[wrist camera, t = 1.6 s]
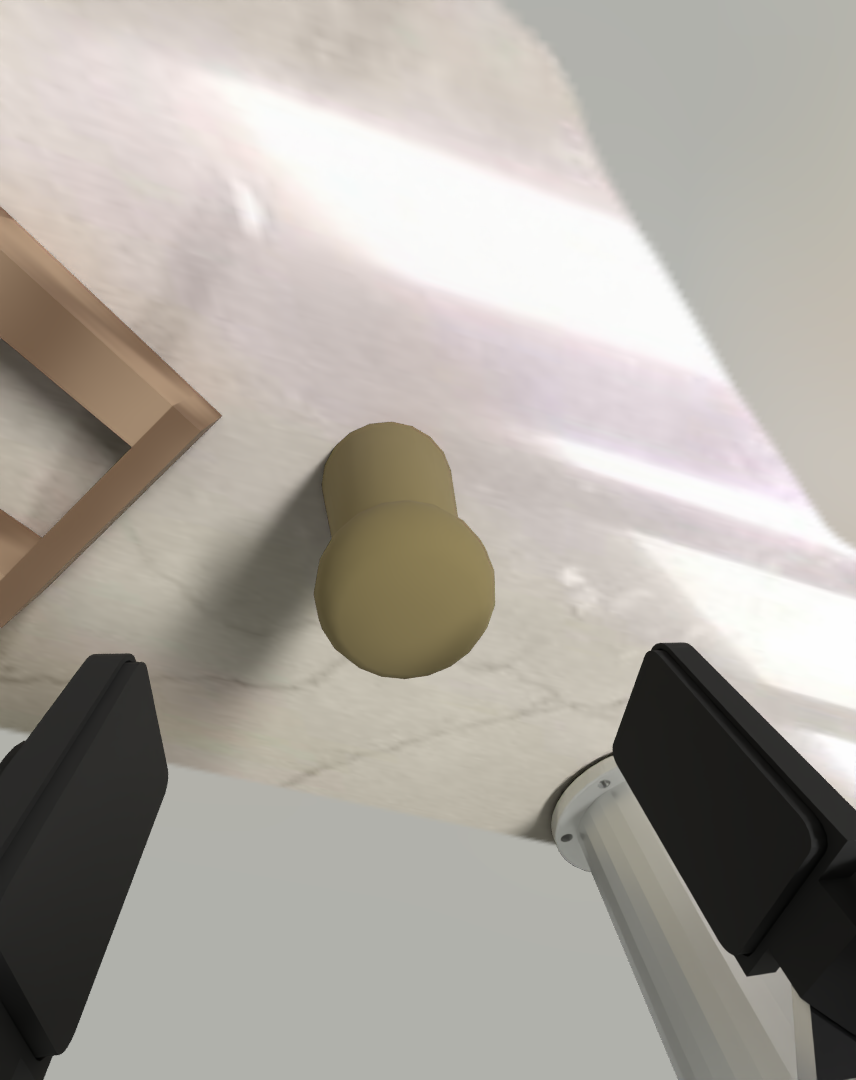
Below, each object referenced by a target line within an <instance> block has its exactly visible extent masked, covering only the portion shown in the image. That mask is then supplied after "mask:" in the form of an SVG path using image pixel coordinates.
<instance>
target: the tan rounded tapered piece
mask: <svg viewBox="0 0 856 1080" xmlns="http://www.w3.org/2000/svg"><path fill="white" fill-rule="evenodd" d="M322 490H323V496H324V501H325V507H326V512H327V517H328V522H329V527H330V532H331V537H332V539H331V541H330V542H329V544H328V546H327V548H326V549H325V551H324V553H323V555H322V556H321V558H320V561H319V566H318V572H317V578H316V584H315V589H314V598H315V603H316V608H317V613H318V618H319V621H320V624H321V627H322V630H323V631H324V633H325V634H326V636H327V637H328V639H329V641H330V642H331V644H332V645H333V647H334V648H335V649H336V650H337V651H338V652H340V653H341V654H342V655H343V656H345V657H346V658H347V659H348V660H350V661H351V662H352V663H354V664H355V665H356V666H358V667H359V668H361V669H363V670H366V671H368V672H371V673H374V674H376V675H379V676H381V677H391V678H401V679H408V678H415V677H422V676H428V675H431V674H433V673H436V672H438V671H441V670H443V669H446V668H448V667H450V666H452V665H453V664H454V663H456V662H457V661H458V660H460V659H461V658H462V657H464V656H465V655H466V654H468V653H469V652H470V651H471V649H472V648H473V647H474V645H475V644H476V643H477V641H478V640H479V639H480V637H481V636H482V635H483V633H484V632H485V630H486V628H487V626H488V624H489V621H490V618H491V615H492V612H493V609H494V606H495V578H494V569H493V567H492V564H491V562H490V559H489V557H488V554H487V551H486V549H485V547H484V545H483V544H482V542H481V540H480V539H479V538H478V536H477V535H476V534H475V533H474V532H473V531H472V530H471V529H470V528H469V527H468V525H467V524H466V523H465V522H464V521H463V520H461V519H459V518H458V515H457V508H456V502H455V495H454V489H453V482H452V475H451V470H450V467H449V465H448V462H447V460H446V457H445V455H444V452H443V451H442V450H441V449H440V448H439V447H438V445H437V444H436V443H435V442H434V441H433V440H432V438H431V437H429V436H428V435H426V434H424V433H423V432H421V431H419V430H418V429H416V428H414V427H413V426H408V425H404V424H399V423H395V422H384V423H374V424H369V425H366V426H364V427H362V428H360V429H357V430H355V431H353V432H351V433H349V434H348V435H347V436H346V437H345V438H344V439H343V440H342V441H341V442H340V443H338V444H337V445H336V446H335V447H334V449H333V451H332V453H331V455H330V456H329V458H328V460H327V462H326V464H325V467H324V473H323V479H322Z"/></svg>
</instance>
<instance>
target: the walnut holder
mask: <svg viewBox="0 0 856 1080" xmlns="http://www.w3.org/2000/svg"><path fill="white" fill-rule="evenodd" d="M0 338H2V339H3V340H4V341H5V342H6V343H8V344H9V345H10V346H11V347H12V348H14V349H15V350H16V351H17V352H18V353H20V354H21V355H22V356H23V357H24V358H26V359H27V360H28V361H29V362H30V363H32V364H33V365H34V366H35V367H36V368H38V369H39V370H40V371H41V372H42V373H44V374H45V375H46V376H47V377H48V378H50V379H51V380H52V381H53V382H54V383H56V384H57V385H58V386H59V387H60V388H62V389H63V390H64V391H65V392H66V393H68V394H69V395H70V396H71V397H72V398H74V399H75V400H76V401H77V402H78V403H80V404H81V405H82V406H83V407H84V408H86V409H87V410H88V411H89V412H90V413H92V414H93V415H94V416H95V417H96V418H98V419H99V420H100V421H101V422H102V423H104V424H105V425H106V426H107V427H108V428H110V429H111V430H112V431H113V432H114V433H116V434H117V435H118V436H119V437H120V438H122V439H123V440H124V441H125V442H126V443H128V444H129V445H130V446H131V447H132V448H131V449H130V450H129V451H128V452H127V453H126V454H125V455H124V456H123V457H122V458H121V459H120V460H119V461H118V462H117V463H116V464H115V465H114V466H113V467H112V468H111V469H110V470H109V471H108V472H107V473H106V474H105V475H104V476H103V477H102V478H101V479H100V480H99V481H98V482H97V483H96V484H95V485H94V486H93V487H92V488H91V489H90V490H89V491H88V492H87V493H86V494H85V495H84V496H83V497H82V498H81V499H80V500H79V501H78V502H77V503H76V504H75V505H74V506H73V507H72V508H71V509H70V510H69V511H68V512H67V514H66V515H65V516H64V517H63V518H62V519H61V520H60V521H59V522H58V523H57V524H56V525H55V526H54V527H53V528H52V529H51V530H50V531H49V532H48V533H47V534H46V535H45V536H44V537H43V538H41V537H40V536H39V535H37V534H36V533H34V532H33V531H31V530H30V529H28V528H27V527H25V526H24V525H23V524H21V523H20V522H18V521H17V520H15V519H14V518H12V517H11V516H10V515H8V514H7V513H5V512H4V511H2V510H1V509H0V627H1V628H2V627H3V626H4V625H5V624H6V623H8V622H9V621H10V620H11V619H12V618H13V617H14V616H16V615H17V614H18V613H19V612H20V611H21V610H22V609H23V608H25V607H26V606H27V605H28V604H29V603H30V602H31V601H33V600H34V599H35V598H36V597H37V596H38V595H39V594H41V593H42V592H43V591H44V590H45V589H46V588H47V587H48V586H49V585H50V584H51V583H52V582H53V581H54V580H55V579H56V578H57V577H58V576H59V575H60V574H61V573H62V572H63V571H64V570H66V569H67V568H68V567H69V566H70V565H71V564H72V563H73V562H74V561H75V560H76V559H77V558H78V557H79V556H80V555H81V554H82V553H83V552H84V551H85V550H86V549H87V548H88V547H89V546H90V545H91V544H92V543H93V542H94V541H95V540H96V539H97V538H98V537H99V536H100V535H101V534H102V533H103V532H104V531H105V530H106V529H107V528H108V527H109V526H110V525H111V524H112V523H113V522H114V521H115V520H116V519H117V518H118V517H119V516H121V515H122V514H123V513H124V512H125V511H126V510H127V509H128V508H129V507H130V506H131V505H132V504H133V503H134V502H135V501H136V500H137V499H138V498H139V497H140V496H141V495H142V494H143V493H144V492H145V491H146V490H147V489H148V488H149V487H150V486H151V485H152V484H153V483H154V482H155V481H156V480H157V479H158V478H159V477H160V476H161V475H162V474H163V473H164V472H165V471H166V470H167V469H168V468H169V467H170V466H171V465H172V464H173V463H174V462H176V461H177V460H178V459H179V458H180V457H181V456H182V455H183V454H184V453H185V452H186V451H187V450H188V449H189V448H190V447H191V446H192V445H193V444H194V443H195V442H196V441H197V440H198V439H199V438H200V437H201V436H202V435H203V434H204V433H205V432H206V431H207V430H208V429H209V428H210V427H211V426H212V425H213V424H214V423H215V422H216V421H217V420H218V419H219V418H220V417H221V416H222V415H221V414H220V413H219V412H218V411H216V410H215V409H214V408H213V407H212V406H211V405H210V404H209V403H208V402H207V401H206V400H205V399H204V398H203V397H202V396H201V395H200V394H198V393H197V392H196V391H195V390H194V389H193V388H192V387H191V386H190V385H189V384H188V383H187V382H186V381H185V380H184V379H183V378H182V377H180V376H179V375H178V374H177V373H176V372H175V371H174V370H173V369H172V368H171V367H170V366H169V365H168V364H167V363H166V362H165V361H164V360H162V359H161V358H160V357H159V356H158V355H157V354H156V353H155V352H154V351H153V350H152V349H151V348H150V347H149V346H148V345H147V344H146V343H144V342H143V341H142V340H141V339H140V338H139V337H138V336H137V335H136V334H135V333H134V332H133V331H132V330H131V329H130V328H129V327H127V326H126V325H125V324H124V323H123V322H122V321H121V320H120V319H119V318H118V317H117V316H116V315H115V314H114V313H113V312H112V311H111V310H109V309H108V308H107V307H106V306H105V305H104V304H103V303H102V302H101V301H100V300H99V299H98V298H97V297H96V296H95V295H94V294H93V293H91V292H90V291H89V290H88V289H87V288H86V287H85V286H84V285H83V284H82V283H81V282H80V281H79V280H78V279H77V278H76V277H75V276H73V275H72V274H71V273H70V272H69V271H68V270H67V269H66V268H65V267H64V266H63V265H62V264H61V263H60V262H59V261H58V260H57V259H55V258H54V257H53V256H52V255H51V254H50V253H49V252H48V251H47V250H46V249H45V248H44V247H43V246H42V245H41V244H40V243H38V242H37V241H36V240H35V239H34V238H33V237H32V236H31V235H30V234H29V233H28V232H27V231H26V230H25V229H24V228H23V227H22V226H20V225H19V224H18V223H17V222H16V221H15V220H14V219H13V218H12V217H11V216H10V215H9V214H8V213H7V212H6V211H5V210H4V209H2V208H1V207H0Z"/></svg>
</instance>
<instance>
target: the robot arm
mask: <svg viewBox="0 0 856 1080" xmlns="http://www.w3.org/2000/svg"><path fill="white" fill-rule="evenodd" d="M167 782H168V768H167V763H166V758H165V754H164V749H163V744H162V739H161V734H160V729H159V724H158V720H157V715H156V710H155V705H154V700H153V695H152V690H151V686H150V681H149V676H148V671H147V667H146V665H145V663H143V662H136V660H135V657H134V656H133V655H132V654H93V655H91V656H89V657H88V658H87V659H86V660H85V662H84V663H83V664H82V666H81V667H80V668H79V670H78V671H77V672H76V674H75V675H74V676H73V678H72V679H71V680H70V682H69V683H68V685H67V686H66V687H65V689H64V690H63V691H62V693H61V694H60V695H59V697H58V698H57V699H56V701H55V702H54V703H53V705H52V706H51V707H50V709H49V710H48V712H47V713H46V714H45V716H44V717H43V718H42V720H41V721H40V722H39V724H38V725H37V726H36V728H35V729H34V730H33V732H32V733H31V734H30V736H29V737H28V739H27V740H26V741H23V742H21V743H20V744H18V745H16V746H15V747H14V748H13V749H12V750H11V751H10V752H9V753H8V754H7V755H6V756H5V758H4V759H3V760H2V762H1V763H0V1080H43V1079H44V1076H45V1074H46V1071H47V1068H48V1066H49V1064H50V1061H51V1058H52V1056H54V1055H60V1054H62V1053H63V1052H64V1051H65V1050H66V1048H67V1047H68V1045H69V1043H70V1042H71V1040H72V1037H73V1035H74V1033H75V1030H76V1028H77V1025H78V1023H79V1020H80V1018H81V1015H82V1012H83V1010H84V1007H85V1004H86V1001H87V999H88V996H89V994H90V991H91V988H92V986H93V983H94V980H95V978H96V975H97V972H98V969H99V967H100V964H101V962H102V959H103V957H104V954H105V951H106V949H107V946H108V943H109V941H110V938H111V935H112V933H113V930H114V927H115V924H116V922H117V919H118V917H119V914H120V911H121V909H122V906H123V903H124V901H125V898H126V896H127V893H128V890H129V888H130V885H131V882H132V880H133V877H134V874H135V872H136V869H137V866H138V864H139V861H140V858H141V856H142V853H143V850H144V848H145V845H146V842H147V840H148V837H149V835H150V832H151V829H152V827H153V824H154V821H155V819H156V816H157V813H158V811H159V808H160V805H161V803H162V800H163V797H164V795H165V792H166V788H167ZM551 828H552V834H553V838H554V840H555V843H556V845H557V848H558V850H559V852H560V854H561V855H562V856H563V858H564V859H565V860H566V861H568V862H569V863H570V864H572V865H573V866H575V867H577V868H580V869H582V870H584V871H588V872H592V875H593V877H594V880H595V882H596V884H597V887H598V889H599V892H600V894H601V897H602V899H603V901H604V904H605V906H606V908H607V911H608V913H609V916H610V918H611V920H612V923H613V925H614V928H615V930H616V932H617V935H618V937H619V940H620V942H621V944H622V947H623V949H624V951H625V954H626V956H627V959H628V961H629V963H630V966H631V968H632V971H633V973H634V975H635V978H636V980H637V983H638V985H639V987H640V990H641V992H642V995H643V997H644V999H645V1002H646V1004H647V1006H648V1009H649V1011H650V1014H651V1016H652V1018H653V1021H654V1023H655V1026H656V1028H657V1031H658V1033H659V1035H660V1038H661V1040H662V1043H663V1045H664V1047H665V1050H666V1052H667V1054H668V1057H669V1059H670V1062H671V1064H672V1066H673V1069H674V1071H675V1073H676V1075H677V1078H678V1080H856V810H855V809H854V808H853V807H852V806H851V805H850V804H849V803H848V802H847V801H846V800H845V799H844V798H843V797H842V796H841V795H840V794H839V793H838V792H837V791H836V790H835V789H834V788H833V787H832V786H831V785H830V784H829V783H828V782H827V781H826V780H825V779H824V778H823V777H822V776H821V775H820V774H819V773H818V772H817V771H816V770H815V769H814V768H813V767H812V766H811V765H810V764H809V763H808V762H807V761H806V760H805V759H804V758H803V757H802V756H801V755H800V754H799V753H798V752H797V751H796V750H795V749H794V748H793V747H792V746H791V745H790V744H789V743H788V742H787V741H786V740H785V739H784V738H783V737H782V736H781V735H780V734H779V733H778V732H777V731H776V730H775V729H774V728H773V727H772V726H771V725H770V724H769V723H768V722H767V721H766V720H765V719H764V718H763V717H762V716H761V715H760V714H759V713H758V712H757V711H756V710H755V709H754V708H753V707H752V706H751V705H750V704H749V703H748V702H747V701H746V700H745V699H744V698H743V697H742V696H741V695H740V694H739V693H738V692H737V691H736V690H735V689H734V688H733V687H732V686H731V685H730V684H729V683H728V682H727V681H726V680H725V679H724V678H723V677H722V676H721V675H720V674H719V673H718V672H717V671H716V670H715V669H714V668H713V667H712V666H711V665H710V664H709V663H708V662H707V661H706V660H705V659H704V658H703V657H702V656H701V655H700V654H699V653H698V652H697V651H696V650H695V649H694V648H693V647H692V646H691V645H689V644H687V643H658V644H656V645H655V646H653V648H652V650H651V651H648V652H647V653H646V655H645V657H644V660H643V662H642V665H641V668H640V671H639V673H638V676H637V679H636V682H635V685H634V687H633V690H632V693H631V696H630V699H629V701H628V704H627V707H626V710H625V712H624V715H623V718H622V721H621V724H620V726H619V729H618V732H617V735H616V738H615V740H614V743H613V756H610V757H608V758H606V759H604V760H602V761H600V762H599V763H597V764H595V765H594V766H592V767H590V768H589V769H587V770H586V771H585V772H584V773H583V774H581V775H580V776H579V777H578V778H576V779H575V780H574V781H573V782H572V783H571V785H570V786H569V787H568V788H567V789H566V790H565V791H564V793H563V794H562V796H561V798H560V799H559V801H558V802H557V804H556V807H555V809H554V812H553V814H552V822H551Z"/></svg>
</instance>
